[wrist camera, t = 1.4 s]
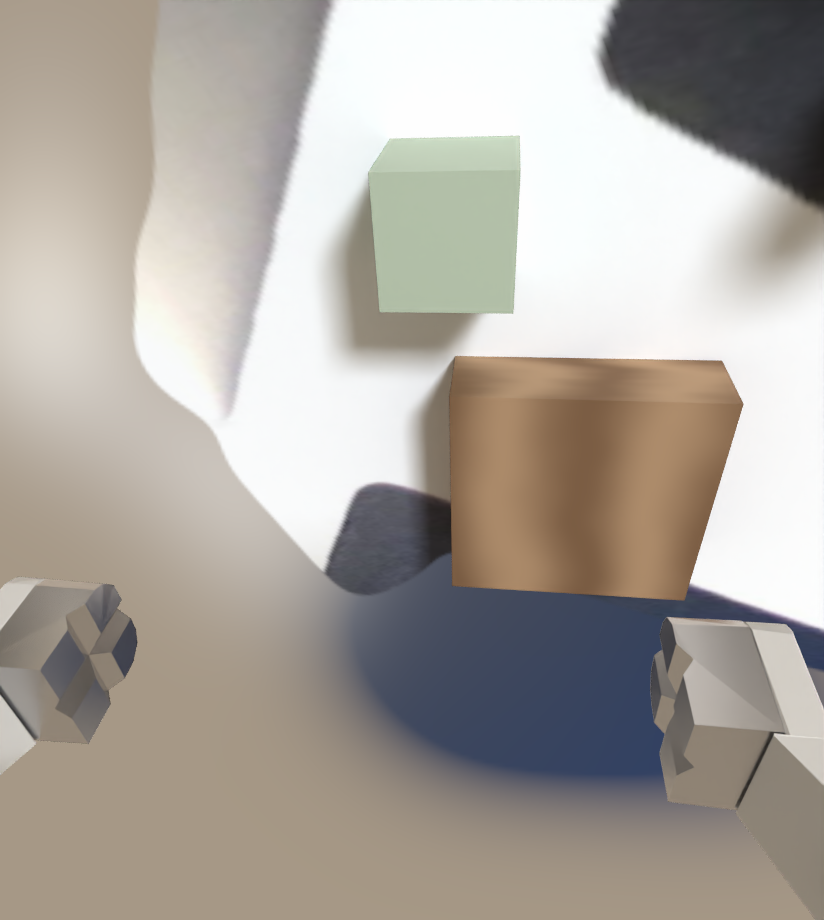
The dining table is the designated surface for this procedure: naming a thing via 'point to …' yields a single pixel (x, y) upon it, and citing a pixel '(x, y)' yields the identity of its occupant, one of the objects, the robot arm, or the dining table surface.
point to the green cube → (446, 224)
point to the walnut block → (585, 471)
